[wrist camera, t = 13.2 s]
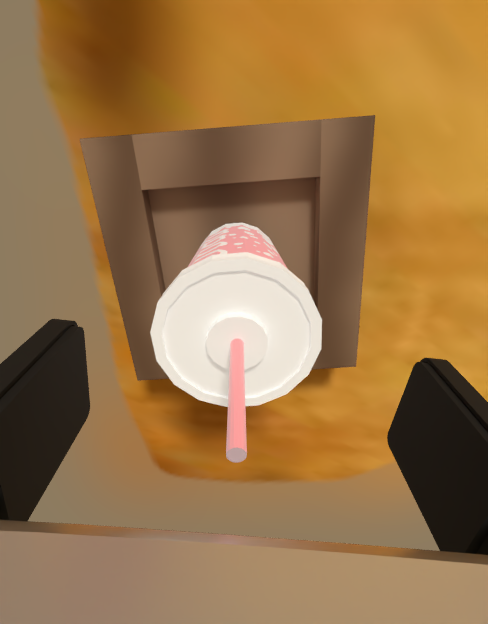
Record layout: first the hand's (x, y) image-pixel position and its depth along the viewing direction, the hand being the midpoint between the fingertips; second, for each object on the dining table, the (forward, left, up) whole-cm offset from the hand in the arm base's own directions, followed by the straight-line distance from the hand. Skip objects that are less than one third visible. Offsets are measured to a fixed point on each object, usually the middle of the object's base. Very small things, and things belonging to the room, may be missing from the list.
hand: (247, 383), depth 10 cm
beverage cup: (0, 0, -12) cm, 12 cm away
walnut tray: (0, 0, -15) cm, 15 cm away
